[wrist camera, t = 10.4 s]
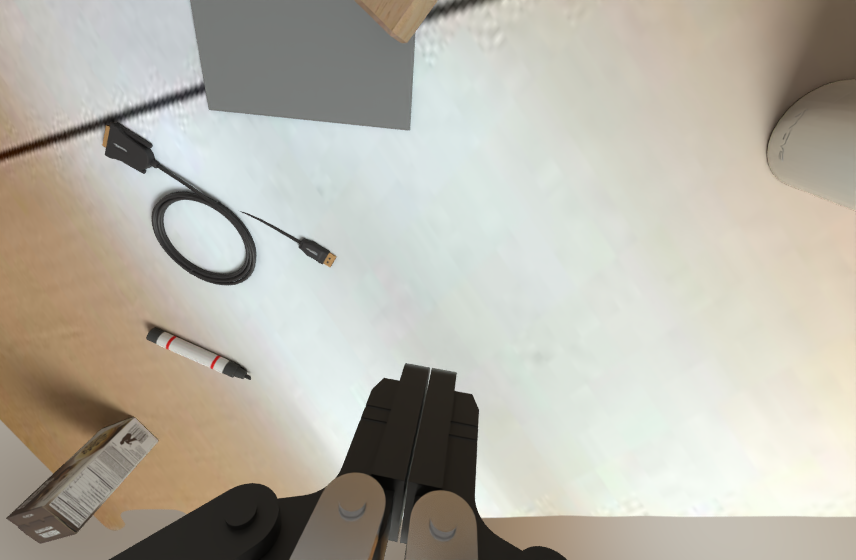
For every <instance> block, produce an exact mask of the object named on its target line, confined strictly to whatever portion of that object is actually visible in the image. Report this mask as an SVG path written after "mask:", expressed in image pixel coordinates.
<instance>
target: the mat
mask: <svg viewBox="0 0 856 560" xmlns="http://www.w3.org/2000/svg"><path fill="white" fill-rule="evenodd" d="M190 2H191V7H192V13H193V19H194V25H195V31H196V37H197V43H198V49H199V55H200V61H201V66H202V72H203V78H204V84H205V90H206V96H207V102H208V108H209V110H216V111H225V112H235V113H245V114H254V115H264V116H274V117H283V118H293V119H303V120H313V121H322V122H332V123H342V124H351V125H361V126H371V127H380V128H390V129H400V130H410V120H411V102H412V83H413V65H414V47H415V33H414V34H413V36H412V37H411V38H410V40H409V41H408V43H400V42H399V41H397V40H396V39H394V38H393V37H391V36H390V35H389V34H388V33H387V32H386V31H385V30H384V29H383V28H382V27H381V26H380V25H379V24H378V23H377V22H376V21H375V20H374V19H373V18H372V17H371V16H370V15H369V14H368V13H367V12H366V11H365V10H363V9H362V8H361V7H360V6H359V5H358V4H357V3H356V2H355V1H354V0H190Z"/></svg>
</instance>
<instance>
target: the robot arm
mask: <svg viewBox="0 0 856 560" xmlns="http://www.w3.org/2000/svg"><path fill="white" fill-rule="evenodd" d="M767 157H768V164H769V167H770V169H771V171H772V173H773V174H774V175H775V177H776V178H777V179H778V180H780V181H781V182H783V183H784V184H786V185H788V186H791V187H794V188H796V189H799V190H801V191H804V192H807V193H809V194H812V195H814V196H817V197H819V198H822V199H824V200H827V201H830V202H832V203H835V204H837V205H840V206H843V207H845V208H848V209H851V210H853V211H856V79H850V80H841V81H836V82H833V83H830V84H826V85H824V86H822V87H820V88H817V89H815V90H813V91H811V92H810V93H808V94H807V95H805V96H804V97H802V98H801V99H799V100H798V101H797V102H796V103H795V104H794V105H793V106H792V107H790V108H789V109H788V110H787V112H786V113H785V114H784V115H783V117H782V118H781V119H780V120H779V122H778V123H777V125H776V127H775V129H774V130H773V132H772V135H771V138H770V141H769V144H768V151H767ZM429 373H430V368H429V367H424V366H418V365H413V364H407V363H405V366H404V369H403V372H402V375H401V378H400V381H398V380H393V379H387V378H383V379H382V380H381V381H380V382H379V383H378V384H377V385H376V386H375V387H374V388H373V389H372V391H371V393H370V396H369V398H368V401H367V404H366V407H365V409H364V411H363V414H362V417H361V420H360V422H359V424H358V427H357V430H356V432H355V435H354V437H353V440H352V443H351V445H350V448H349V450H348V453H347V456H346V458H345V461H344V463H343V466H342V468H341V470H340V472H339V474H338V475H337V477H336V478H335V479H334V480H333V481H332V482H330V483H329V484H328V486H326V487H325V488H323V489H322V490H320V491H317V492H315V493H312V494H309V495H303V496H295V497H287V498H279V499H277V497H276V495H275V493H274V492H273V491H272V490H271V489H270V488H269V487H267V486H265V485H261V484H255V483H250V484H243V485H240V486H237V487H234V488H232V489H230V490H228V491H227V492H225V493H223V494H221V495H220V496H218V497H216V498H214V499H213V500H211V501H209V502H208V503H206V504H204V505H202V506H201V507H199V508H197V509H196V510H194V511H192V512H190V513H189V514H187V515H185V516H183V517H182V518H180V519H178V520H177V521H175V522H173V523H171V524H170V525H168V526H166V527H165V528H163V529H161V530H159V531H158V532H156V533H154V534H152V535H151V536H149V537H148V538H146V539H144V540H142V541H140V542H139V543H137V544H135V545H133V546H132V547H130V548H128V549H127V550H125V551H123V552H121V553H120V554H118V555H116V556H114V557H113V558H111V559H109V560H384V556H385V552H386V548H387V543H388V540H391V541H395V542H397V541H398V536H399V531H400V526H401V522H402V517H403V524H402V531H401V539H400V543H405V544H407V545H406V551H405V559H404V560H567V559H566V558H565V557H563V556H562V555H561V554H559V553H558V552H556V551H554V550H552V549H550V548H546V547H542V546H533V547H529V548H527V549H525V550H523V551H522V550H520V549H518V548H517V547H515V546H513V545H512V544H510V543H508V542H507V541H505V540H503V539H502V538H500V537H499V536H497V535H496V534H494V533H493V532H492V531H491V530H490V529H489V528H488V527H487V526H486V525H485V524H484V522H483V521H482V519H481V517H480V515H479V513H478V511H477V508H476V503H475V479H476V459H477V438H478V418H479V409H478V407H477V404H476V402H475V400H474V397H473V395H472V394H468V393H462V392H457V391H454V390H455V382H456V374H457V372H452V371H446V370H441V369H435V368H432V370H431V375H430V380H429ZM428 380H429V384H428ZM427 387H428V389H427ZM404 507H405V508H404ZM403 512H404V516H403Z"/></svg>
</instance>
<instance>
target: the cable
mask: <svg viewBox="0 0 856 560" xmlns="http://www.w3.org/2000/svg"><path fill="white" fill-rule="evenodd" d="M103 146H104V147H106V151H105V155H106V156H107V157H109V158H112V159H117V160H120V161H122V162H124V163H125V164H127V165H129V166H130V167H132V168H134V169H136V170H138V171H139V172H141V173H143V174H145V173H146V170H145V169H147V168H150V167H152V166H153V167H154V168H159V169H160V170H162V171H163V172H165V173H166V174H168V175H170V176H171V177H173V178H174V179H176V180H177V181H179V182H180V183H182V184H183V185H185V186H186V187H188V188H189V189H191V190H192V191H194V192H195V193H190V192H176V193H171V194H169V195H167V196H165V197H164V198H162V199H161V200H160V201H159V202H158V203H157V204H156V205H155V207H154V209H153V212H152V226H153V230H154V233H155V236H156V238H157V240H158V242H159V243H160V245H161V246H162V248H163V249H164V250H165V252H166V253H167V254H168V255H169V256H170V257H171V258H172V259H173V260H174V261H175V262H176V263H177V264H178V265H180V266H181V267H182V268H183V269H185V270H186V271H187V272H189V273H190V274H192V275H194V276H196V277H198V278H199V279H202V280H204V281H207V282H210V283H213V284H218V285H236V284H239V283H242V282H243V281H245V280H247V279H248V278H249V277H250V276H251V274H252V273H253V271H254V268H255V263H256V248H255V244H254V241H253V238H252V236H251V234H250V232H249V231H248V229H247V228H246V226H245V225H244V224H243V222H242V221H241V220H240V219H239V218H238V217H237V216H236V215H235V214H234V213H233V212H232V211H230V210H229V209H228V208H227V207H225V206H224V205H222V204H220V202H217V201H215V200H213V199H211V198H208V197H206V196H205V195H204V194H202V193H201V192H199V191H198V190H197V189H195V188H194V187H192V186H191V185H189V184H188V183H186V182H185V181H183V180H182V179H180V178H179V177H177V176H176V175H174V174H173V173H171V172H169V171H168V170H166V169H165V168H163V167H162V166H160V163H158V162H157V161H155V158H154V154H153V152H152V150H151V149H150V148H152V146H153V145H152V144H150V143H149V142H147V141H146V140H144V139H143V138H141V137H140V136H138V135H136V134H135V133H133V132H131V131H130V130H128V129H127V128H125V127H124V126H123V125H121V124H120V123H111V124H110V125H107V126H106V128H105V134H104V140H103ZM179 200H192V201H197V202H200V203H203V204H205V205H208V206H210V207H211V208H213V209H215V210H216V211H218V212H219V213H221V214H222V215H223V216H225V217H226V218H227V219H228V220H229V221H230V222H231V223H232V224H233V225H234V227H235V228H236V229H237V231H238V232H239V234H240V236H241V237H242V240H243V242H244V245H245V249H246V261H245V263H244V265H243V266H242V267H241V268H240V269H239V270H238V271H236V272H234V273H230V274H217V273H212V272H208V271H206V270H203V269H201V268H199V267H197V266H195V265H194V264H192V263H190V262H189V261H188V260H186V259H185V258H184V257H183V256H182V255H181V254H180V253H179V252H178V251H177V250H176V249H175V248H174V246H173V245H172V244H171V242H170V240H169V239H168V237H167V235H166V232H165V229H164V223H163V217H164V213H165V211H166V209H167V207H168V206H169V205H171V204H172V203H174V202H176V201H179ZM240 212H241V211H240ZM242 213H245V212H242ZM245 214H247V215H249V216H251V217H253V218H255V219H257V220H259V221H261V222H263V223H264V224H266V225H268V226H270V227H272V228H273V229H275V230H277V231H278V232H280V233H282V234H284V235H285V236H287V237H289V238H290V239H292V240H294V241H295V242H297V243H299V244H300V245H299V248H300V249H301V250H302V251H303V252H304V253H305V254H306V255H307V256H309V257H311V258H313V259H315V260H316V261H318V262H319V263H321V264H325V265H327V266H328V267H331V266H332V264H333V262H334V260H335V259H336V256H335V255H333V254H331V253H330V251H329V250H327V249H325V248H323V247H321V246H320V245H318V244H317V243H316V242H313V241H309V240H307V239H305V238H304V239H303V240H302V241H300V240H298V239H296V238H294V237H293V236H291V235H289V234H287V233H286V232H284V231H282V230H280V229H279V228H277V227H275V226H273V225H271V224H269V223H267V222H265V221H263V220H261V219H259V218H257V217H255V216H252V215H250V214H248V213H245ZM241 278H242V279H241ZM239 279H240V280H239ZM236 280H238V281H236ZM233 281H235V282H233Z"/></svg>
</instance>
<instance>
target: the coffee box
mask: <svg viewBox="0 0 856 560" xmlns="http://www.w3.org/2000/svg"><path fill="white" fill-rule="evenodd" d="M157 442H158V439H157V438H156V437H155V436H153V435H152V434H151V433H150V432H149V431H148V430H147V429H146V428H145V427H144V426H143V425H142V424H141V423H140V422H139V421H138V420H137V419H136V418H135V417H132V418H129V419H127V420H124V421H121V422H119V423H116V424H114V425H111V426H108V427H106V428H103V429H101V430H99V431H98V432H97V433H96V434H95V435H94V436H93V437H92V438H91V439H90V440H89V441H88V442H87V443H86V444H85V445H84V446H83V447H82V448H80V449H79V450H78V451H77V452H76V453H75V454H74V455H73V456H72V457H71V458H70V459H69V460H68V461H67V462H66V463H64V464H63V465H62V466H61V467H60V468H59V469H58V470H57V471H56V472H55V473H54V474H53V475H52V476H51V477H50V478H49V479H48V480H46V481H45V482H44V483H43V484H42V485H41V486H40V487H39V488H38V489H37V490H36V491H35V492H34V493H32V494H31V495H30V496H29V497H28V498H27V499H26V500H25V501H24V502H23V503H22V504H21V505H20V506H19V507H18V508H17V509H16V510H15V511H13V512H12V514H10V515H9V516H8V517H7V518H6V519H8V520H9V521H11V522H12V523H14V524H15V525H17V526H18V528H19V529H20V530H21V531H23V532H24V533H25V534H26V535H28V536H30V537H31V538H32V539H34V540H35V541H37V542H38V543H45V542H49V541H52V540H56V539H59V538H63V537H66V536H70V535H74V534H77V533H78V531H79V530H80V529H81V528H82V527H83V526H84V524H85V523H86V522H87V521H88V520H89V519H90V518H91V517H92V515H93V514H94V513H95V512H96V511H97V510H98V509H99V508H100V506H101V505H102V504H103V503H104V502H105V501H106V500H107V498H108V497H109V496H110V495H111V494H112V493H113V492H114V491H115V489H116V488H117V487H118V486H119V485H120V484H121V483H122V482H123V480H124V479H125V478H126V477H127V476H128V475H129V474H130V473H131V471H132V470H133V469H134V468H135V467H136V466H137V465H138V464H139V463H140V461H141V460H142V459H143V458H144V457H145V456H146V455H147V453H148V452H149V451H150V450H151V449H152V448H153V447H154V446H155V444H156V443H157Z"/></svg>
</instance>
